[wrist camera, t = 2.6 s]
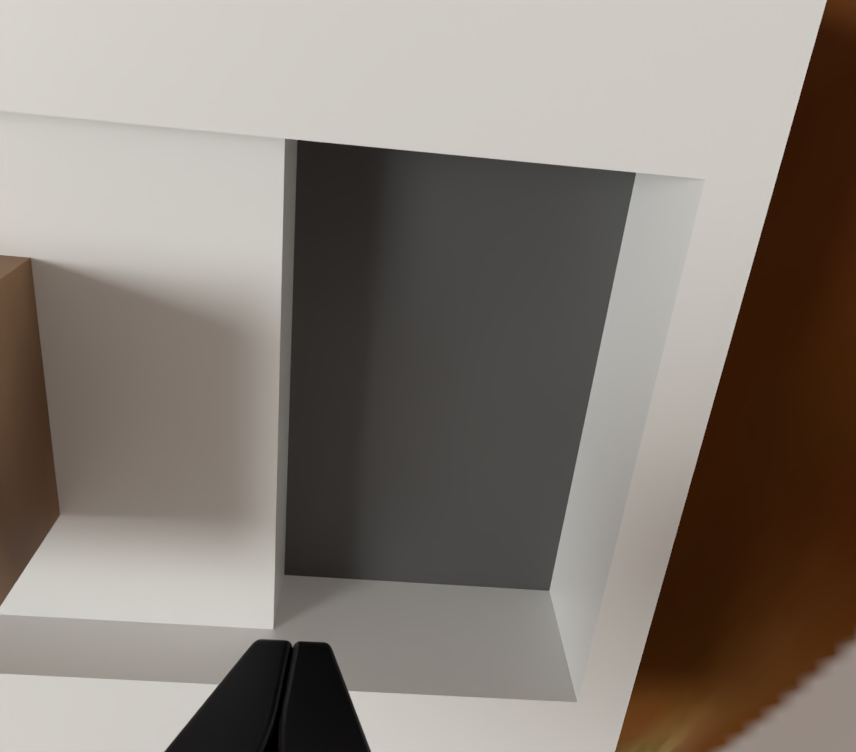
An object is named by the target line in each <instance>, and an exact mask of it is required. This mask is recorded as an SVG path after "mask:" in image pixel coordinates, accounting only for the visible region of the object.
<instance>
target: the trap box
mask: <svg viewBox="0 0 856 752" xmlns="http://www.w3.org/2000/svg"><path fill="white" fill-rule="evenodd" d="M826 1H827V0H0V255H6V256H18V257H29V258H31V264H32V273H33V281H34V290H35V299H36V308H37V317H38V325H39V334H40V343H41V352H42V360H43V369H44V378H45V387H46V395H47V404H48V413H49V422H50V431H51V439H52V448H53V457H54V466H55V474H56V483H57V492H58V501H59V509H60V516H59V518H58V519H57V521H56V522H55V524H54V525H53V527H52V528H51V530H50V531H49V533H48V534H47V536H46V537H45V539H44V540H43V542H42V544H41V545H40V547H39V548H38V550H37V551H36V553H35V554H34V556H33V557H32V559H31V560H30V562H29V563H28V565H27V566H26V568H25V569H24V571H23V572H22V574H21V576H20V577H19V579H18V580H17V582H16V583H15V585H14V586H13V588H12V589H11V591H10V592H9V594H8V595H7V597H6V598H5V600H4V601H3V603H2V605H1V606H0V752H164V751H165V750H166V749H167V748H168V746H169V745H170V744H171V743H172V741H173V740H174V739H175V738H176V736H177V735H178V734H179V733H180V732H181V730H182V729H183V728H184V727H185V725H186V724H187V723H188V722H189V721H190V719H191V718H192V717H193V716H194V714H195V713H196V712H197V711H198V709H199V708H200V707H201V706H202V705H203V703H204V702H205V701H206V700H207V698H208V697H209V696H210V695H211V694H212V692H213V691H214V690H215V689H216V687H217V686H218V685H219V684H220V682H221V681H222V680H223V679H224V678H225V676H226V675H227V674H228V673H229V671H230V670H231V669H232V668H233V667H234V665H235V664H236V663H237V662H238V660H239V659H240V658H241V657H242V655H243V654H244V653H245V652H246V651H247V649H248V648H249V647H250V646H251V645H252V643H253V642H255V641H256V640H258V639H272V640H287V641H289V642H291V644H292V648H293V645H294V644H295V643H296V642H297V641H310V642H325V643H328V644H329V645H330V646H331V648H332V650H333V652H334V655H335V657H336V660H337V663H338V665H339V668H340V671H341V673H342V676H343V679H344V681H345V684H346V686H347V689H348V692H349V694H350V697H351V700H352V702H353V705H354V708H355V710H356V713H357V716H358V718H359V721H360V723H361V726H362V729H363V731H364V734H365V737H366V739H367V742H368V745H369V747H370V750H371V752H615V749H616V746H617V742H618V739H619V735H620V732H621V728H622V725H623V721H624V718H625V714H626V710H627V707H628V703H629V700H630V696H631V693H632V689H633V686H634V682H635V679H636V675H637V671H638V668H639V664H640V661H641V657H642V654H643V650H644V647H645V643H646V640H647V636H648V632H649V629H650V625H651V622H652V618H653V615H654V611H655V608H656V604H657V601H658V597H659V593H660V590H661V586H662V583H663V579H664V576H665V572H666V569H667V565H668V561H669V558H670V554H671V551H672V547H673V544H674V540H675V537H676V533H677V530H678V526H679V522H680V519H681V515H682V512H683V508H684V505H685V501H686V498H687V494H688V491H689V487H690V483H691V480H692V476H693V473H694V469H695V466H696V462H697V459H698V455H699V452H700V448H701V444H702V441H703V437H704V434H705V430H706V427H707V423H708V420H709V416H710V413H711V409H712V405H713V402H714V398H715V395H716V391H717V388H718V384H719V381H720V377H721V373H722V370H723V366H724V363H725V359H726V356H727V352H728V349H729V345H730V342H731V338H732V334H733V331H734V327H735V324H736V320H737V317H738V313H739V310H740V306H741V303H742V299H743V295H744V292H745V288H746V285H747V281H748V278H749V274H750V271H751V267H752V264H753V260H754V256H755V253H756V249H757V246H758V242H759V239H760V235H761V232H762V228H763V225H764V221H765V217H766V214H767V210H768V207H769V203H770V200H771V196H772V193H773V189H774V185H775V182H776V178H777V175H778V171H779V168H780V164H781V161H782V157H783V154H784V150H785V146H786V143H787V139H788V136H789V132H790V129H791V125H792V122H793V118H794V115H795V111H796V107H797V104H798V100H799V97H800V93H801V90H802V86H803V83H804V79H805V76H806V72H807V68H808V65H809V61H810V58H811V54H812V51H813V47H814V44H815V40H816V37H817V33H818V29H819V26H820V22H821V19H822V15H823V12H824V8H825V5H826Z"/></svg>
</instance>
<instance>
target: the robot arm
mask: <svg viewBox="0 0 856 752" xmlns="http://www.w3.org/2000/svg"><path fill="white" fill-rule="evenodd" d="M164 752H371V750H370V747H369V745H368V742H367V739H366V737H365V734H364V731H363V729H362V726H361V723H360V721H359V718H358V716H357V713H356V710H355V708H354V705H353V702H352V700H351V697H350V694H349V692H348V689H347V686H346V684H345V681H344V679H343V676H342V673H341V671H340V668H339V665H338V663H337V660H336V657H335V655H334V652H333V650H332V648H331V646H330V645H329V644H328V643H325V642H310V641H297V642H296V643H295V644H294V645H293V648H292V644H291V642H289V641H287V640H272V639H258V640H256V641H255V642H253V643H252V645H251V646H250V647H249V648H248V649H247V651H246V652H245V653H244V654H243V655H242V657H241V658H240V659H239V660H238V662H237V663H236V664H235V665H234V667H233V668H232V669H231V670H230V671H229V673H228V674H227V675H226V676H225V678H224V679H223V680H222V681H221V682H220V684H219V685H218V686H217V687H216V689H215V690H214V691H213V692H212V694H211V695H210V696H209V697H208V698H207V700H206V701H205V702H204V703H203V705H202V706H201V707H200V708H199V709H198V711H197V712H196V713H195V714H194V716H193V717H192V718H191V719H190V721H189V722H188V723H187V724H186V725H185V727H184V728H183V729H182V730H181V732H180V733H179V734H178V735H177V736H176V738H175V739H174V740H173V741H172V743H171V744H170V745H169V746H168V748H167V749H166V750H165V751H164Z"/></svg>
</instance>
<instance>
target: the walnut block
mask: <svg viewBox="0 0 856 752" xmlns="http://www.w3.org/2000/svg"><path fill="white" fill-rule="evenodd" d="M59 516H60V509H59V501H58V492H57V483H56V474H55V466H54V457H53V448H52V439H51V431H50V422H49V413H48V404H47V395H46V387H45V378H44V369H43V360H42V352H41V343H40V334H39V325H38V317H37V308H36V299H35V290H34V281H33V273H32V264H31V258H29V257H18V256H6V255H0V606H1V605H2V603H3V601H4V600H5V598H6V597H7V595H8V594H9V592H10V591H11V589H12V588H13V586H14V585H15V583H16V582H17V580H18V579H19V577H20V576H21V574H22V572H23V571H24V569H25V568H26V566H27V565H28V563H29V562H30V560H31V559H32V557H33V556H34V554H35V553H36V551H37V550H38V548H39V547H40V545H41V544H42V542H43V540H44V539H45V537H46V536H47V534H48V533H49V531H50V530H51V528H52V527H53V525H54V524H55V522H56V521H57V519H58V518H59Z"/></svg>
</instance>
